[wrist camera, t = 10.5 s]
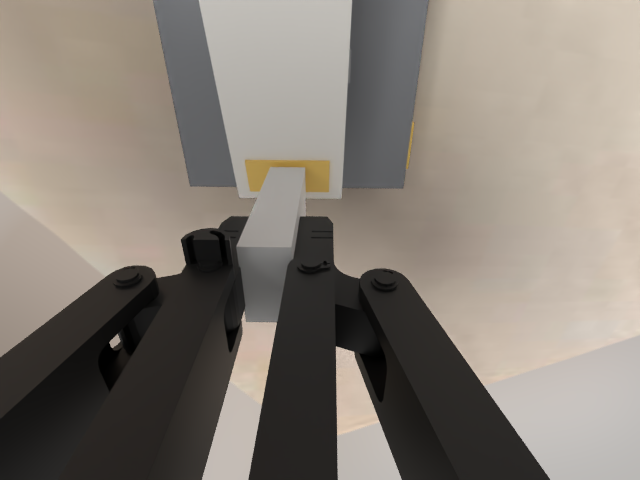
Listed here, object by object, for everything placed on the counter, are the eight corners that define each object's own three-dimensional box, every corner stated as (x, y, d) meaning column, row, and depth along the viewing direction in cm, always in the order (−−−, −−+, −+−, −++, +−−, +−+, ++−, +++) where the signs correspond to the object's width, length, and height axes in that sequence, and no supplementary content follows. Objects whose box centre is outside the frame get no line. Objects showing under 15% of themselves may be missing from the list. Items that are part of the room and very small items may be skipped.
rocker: (186, -141, 10) (168, -142, 9) (356, -141, 10) (359, -142, 9) (244, 177, 18) (238, 199, 17) (340, 178, 18) (341, 200, 17)
